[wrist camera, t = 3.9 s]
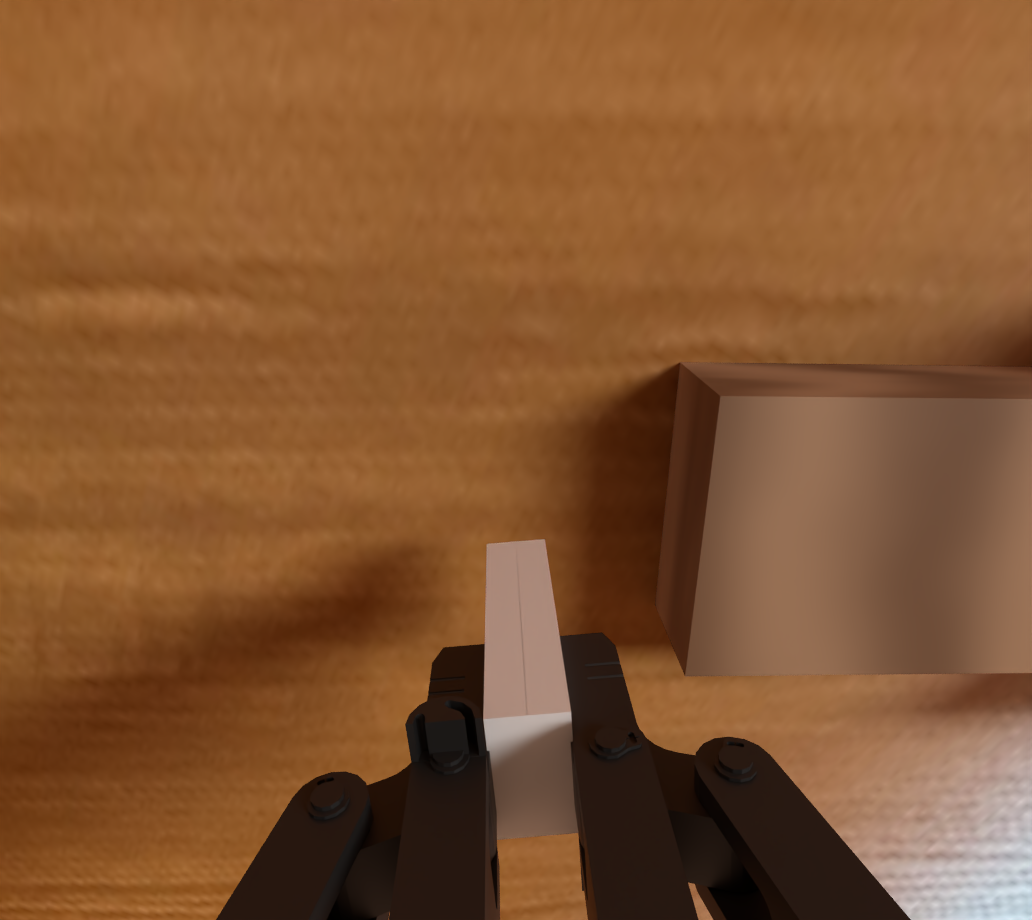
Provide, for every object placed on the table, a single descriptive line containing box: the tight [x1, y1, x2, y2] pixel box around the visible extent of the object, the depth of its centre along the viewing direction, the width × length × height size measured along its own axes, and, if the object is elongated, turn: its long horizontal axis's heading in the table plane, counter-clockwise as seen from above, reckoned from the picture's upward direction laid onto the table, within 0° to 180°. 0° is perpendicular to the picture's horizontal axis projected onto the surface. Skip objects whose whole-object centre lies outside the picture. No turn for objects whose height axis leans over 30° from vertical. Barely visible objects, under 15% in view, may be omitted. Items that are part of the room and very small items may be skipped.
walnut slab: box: [655, 362, 1032, 676], centre depth 20 cm, size 12×8×4 cm, turn 89°
